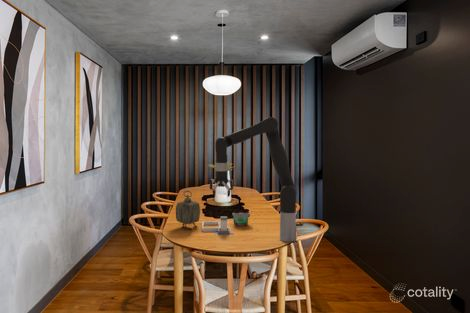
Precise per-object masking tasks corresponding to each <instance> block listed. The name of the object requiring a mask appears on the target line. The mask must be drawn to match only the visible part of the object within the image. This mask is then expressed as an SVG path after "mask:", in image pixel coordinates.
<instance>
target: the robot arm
mask: <svg viewBox="0 0 470 313" xmlns="http://www.w3.org/2000/svg"><path fill="white" fill-rule="evenodd" d="M261 134H265V136H266V139H267V141H268V142H267V143H268V145H269V152H270V153H269V154H270V158H271V161H272V165H273V167H274V170H275V172H276V174H277V176H278V179H279V182H280V188H281V189H280V193H279V207H280V208H279V210H280V216H279V219H280V221H279V240H280V241H281V242H286V243H293V242H297V223H296V221H297V220H296V219H297V201H296V200H297V194H298V193H297V192H298V191H297V188H296V186H295V183H294V181H293V177H292V175H291V168H290V164H289V159H288V155H287V152H286V149H285V146H284V145H283V143H282V140H281V137H280V132H279V122H278V120H277V119H276V118H275V117H273V116H268V117H266V118H264V119H263V120H262V121H260V122H258V123H255V124H254V125H250V126H248V127H245V128H243V129H239V130H237V131H235V132H234V131H233V132H231V133H230V134H227V135H226V136H222V137H218V138H217V139H216V140H215V143H214V144H215V145H214V147H215V167H214V168H215V169H214V170H215V171H214V173H215V178H214V179H213V178H211V179H210V180H209V189H210V190H212V196H213V197H216V192H217V191H216V189H217V187H219V188H220V187H222V188H226V189H227V194H226V195H227V198H229V197H230V196H231V191H232V190H233V189H234V180H233V179H229V178H228V175H229V172H228V171H229V167H228V154H227V150H228V149H227V148H228V147H231V146H235V145H237V144H240V143H243V142H245V141H248V140H250V139H251V138H254V137H255V136H258V135H261ZM214 183H215V185H214V186H213V184H214ZM228 183H229V184H230V186H229V185H228Z"/></svg>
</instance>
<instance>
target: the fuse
mask: <svg viewBox="0 0 470 313" xmlns="http://www.w3.org/2000/svg"><path fill="white" fill-rule="evenodd" d="M227 228H228V216H225V215H223V216H220V231H227Z"/></svg>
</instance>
